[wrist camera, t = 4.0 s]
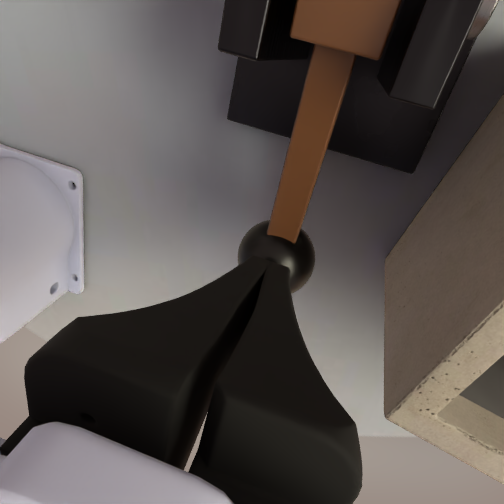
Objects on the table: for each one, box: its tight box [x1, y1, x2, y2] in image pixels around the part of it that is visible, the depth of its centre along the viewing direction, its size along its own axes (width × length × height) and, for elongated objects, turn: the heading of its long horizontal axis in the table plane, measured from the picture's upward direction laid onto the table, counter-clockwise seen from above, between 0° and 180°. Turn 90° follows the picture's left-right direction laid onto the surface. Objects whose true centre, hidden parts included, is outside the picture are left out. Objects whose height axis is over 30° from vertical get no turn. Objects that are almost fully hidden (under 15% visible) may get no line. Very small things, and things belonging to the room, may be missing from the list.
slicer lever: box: [238, 0, 402, 293], centre depth 12 cm, size 12×3×3 cm, turn 167°
